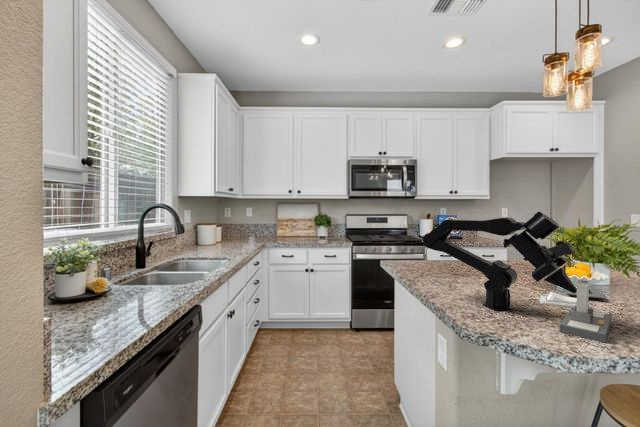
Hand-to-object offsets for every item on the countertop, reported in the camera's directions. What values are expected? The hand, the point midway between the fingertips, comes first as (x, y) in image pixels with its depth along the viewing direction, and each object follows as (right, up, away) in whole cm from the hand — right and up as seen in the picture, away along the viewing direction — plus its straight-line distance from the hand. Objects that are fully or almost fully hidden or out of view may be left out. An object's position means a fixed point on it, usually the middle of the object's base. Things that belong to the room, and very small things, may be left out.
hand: (576, 292), depth 88 cm
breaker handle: (+1, -6, -1) cm, 6 cm away
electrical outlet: (+26, -9, +29) cm, 40 cm away
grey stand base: (+2, -9, -1) cm, 10 cm away
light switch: (+12, -10, +20) cm, 25 cm away
